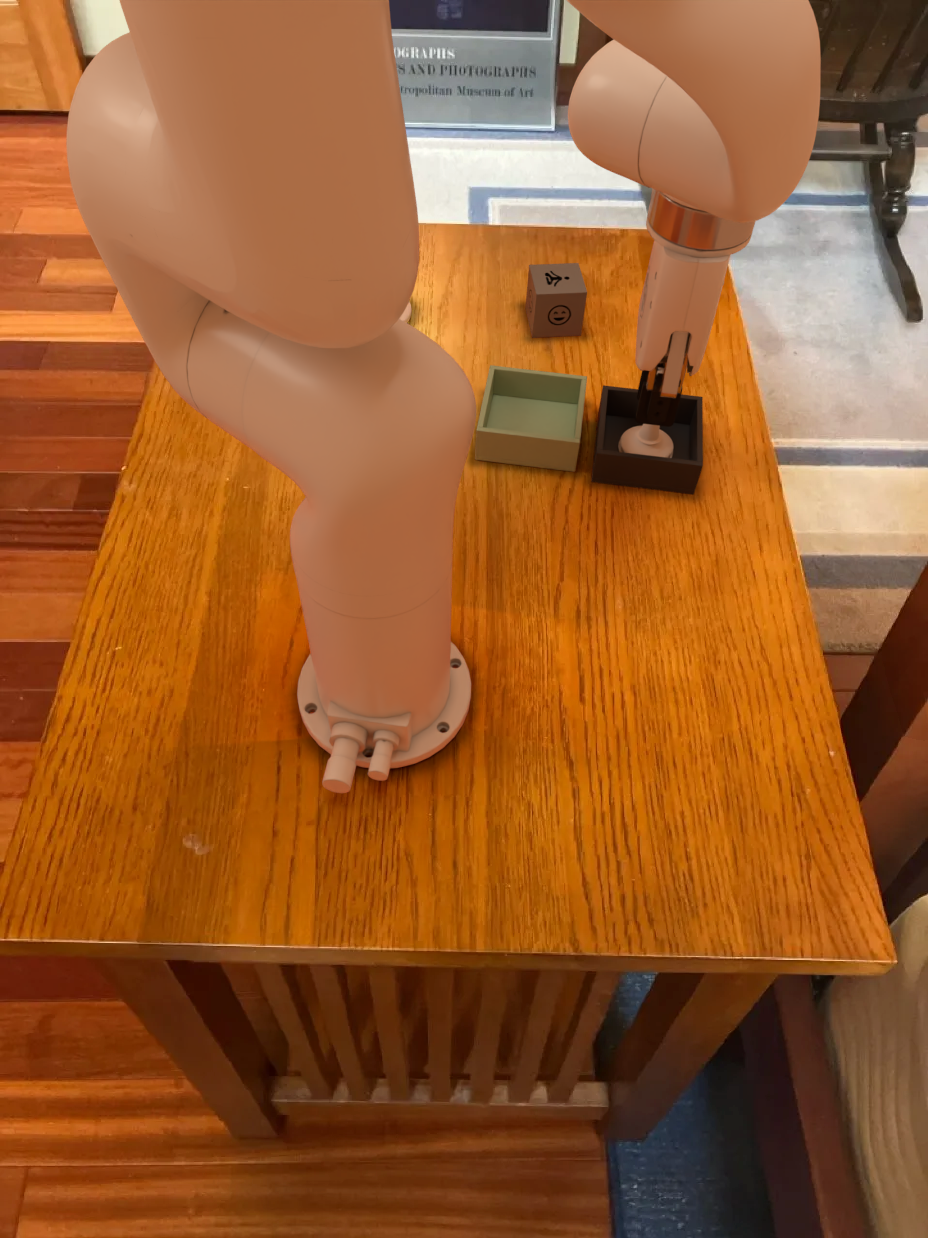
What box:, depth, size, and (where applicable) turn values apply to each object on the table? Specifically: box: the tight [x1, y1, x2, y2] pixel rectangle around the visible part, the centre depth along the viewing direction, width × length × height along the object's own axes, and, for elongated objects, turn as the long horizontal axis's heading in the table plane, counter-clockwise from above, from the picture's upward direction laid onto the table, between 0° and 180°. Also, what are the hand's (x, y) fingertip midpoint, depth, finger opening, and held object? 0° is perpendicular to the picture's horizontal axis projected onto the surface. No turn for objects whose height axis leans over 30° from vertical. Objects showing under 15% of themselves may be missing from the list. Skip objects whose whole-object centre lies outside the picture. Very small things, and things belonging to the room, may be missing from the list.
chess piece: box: [618, 367, 673, 458], centre depth 80 cm, size 5×5×10 cm
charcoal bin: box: [590, 385, 704, 495], centre depth 83 cm, size 9×9×4 cm
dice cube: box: [524, 262, 588, 339], centre depth 94 cm, size 5×5×5 cm
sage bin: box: [474, 364, 588, 473], centre depth 84 cm, size 9×9×4 cm
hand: (654, 410), depth 80 cm, fingers closed on chess piece, 2 cm apart
